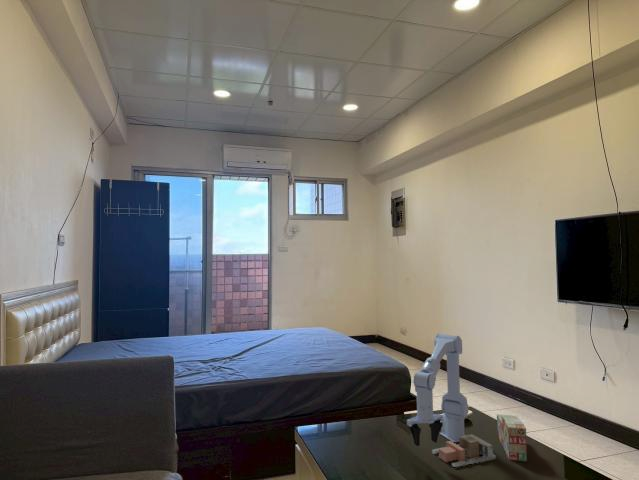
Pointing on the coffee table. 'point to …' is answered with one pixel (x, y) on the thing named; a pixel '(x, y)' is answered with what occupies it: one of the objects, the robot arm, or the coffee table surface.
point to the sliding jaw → (452, 452)
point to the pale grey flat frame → (484, 450)
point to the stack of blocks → (512, 436)
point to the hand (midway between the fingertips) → (425, 443)
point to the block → (469, 446)
